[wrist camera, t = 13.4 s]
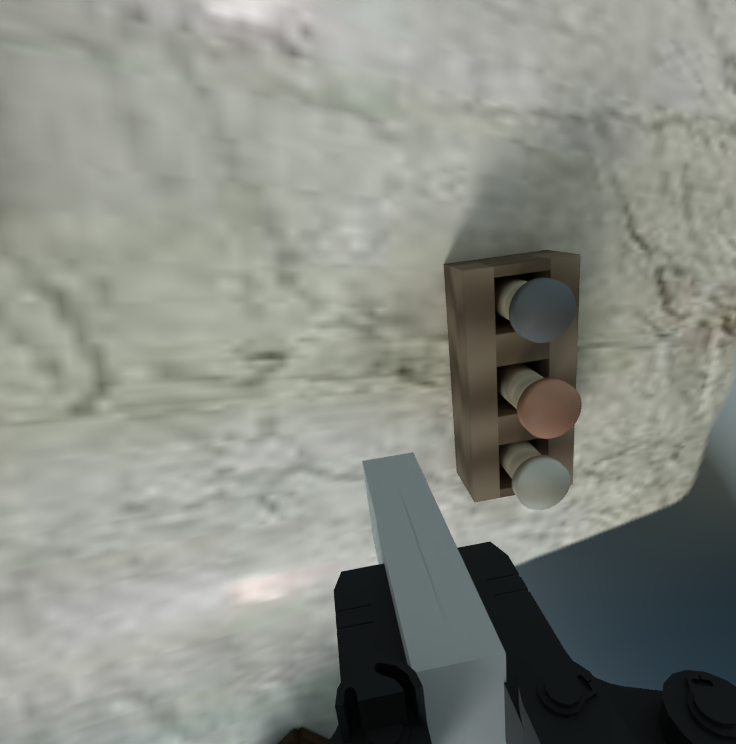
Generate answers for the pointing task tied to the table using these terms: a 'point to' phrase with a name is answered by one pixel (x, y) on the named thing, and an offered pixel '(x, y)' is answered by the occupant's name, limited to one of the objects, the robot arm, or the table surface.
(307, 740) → the model building
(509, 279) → the plug charcoal
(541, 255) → the socket block
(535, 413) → the plug terracotta
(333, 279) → the table surface
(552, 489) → the plug cream
